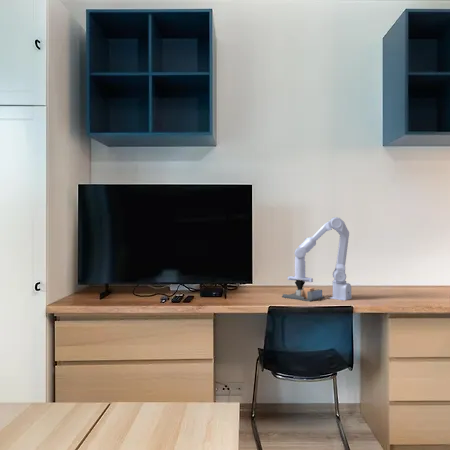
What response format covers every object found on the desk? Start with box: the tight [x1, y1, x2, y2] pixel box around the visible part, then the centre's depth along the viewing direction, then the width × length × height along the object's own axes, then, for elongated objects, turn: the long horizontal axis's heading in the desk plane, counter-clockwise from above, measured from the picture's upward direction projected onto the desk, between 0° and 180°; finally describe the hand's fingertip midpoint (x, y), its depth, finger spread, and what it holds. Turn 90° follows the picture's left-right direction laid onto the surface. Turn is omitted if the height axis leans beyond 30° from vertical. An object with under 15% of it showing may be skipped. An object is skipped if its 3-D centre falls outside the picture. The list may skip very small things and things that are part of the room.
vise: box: [281, 288, 325, 302], centre depth 238 cm, size 18×13×5 cm
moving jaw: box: [295, 287, 305, 297], centre depth 237 cm, size 3×10×4 cm, turn 135°
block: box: [303, 287, 315, 298], centre depth 235 cm, size 4×4×5 cm
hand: (300, 294), depth 239 cm, fingers closed
